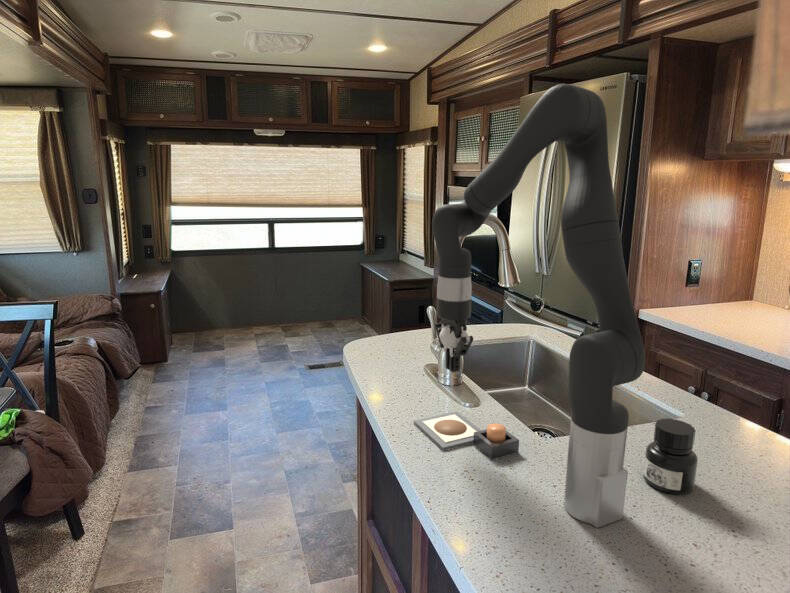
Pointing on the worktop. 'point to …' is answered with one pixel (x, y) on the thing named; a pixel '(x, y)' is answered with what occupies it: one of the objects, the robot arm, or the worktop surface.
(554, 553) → the worktop surface
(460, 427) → the board
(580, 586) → the worktop surface
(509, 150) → the robot arm
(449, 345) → the lollipop
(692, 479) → the ink bottle
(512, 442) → the button housing
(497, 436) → the button
